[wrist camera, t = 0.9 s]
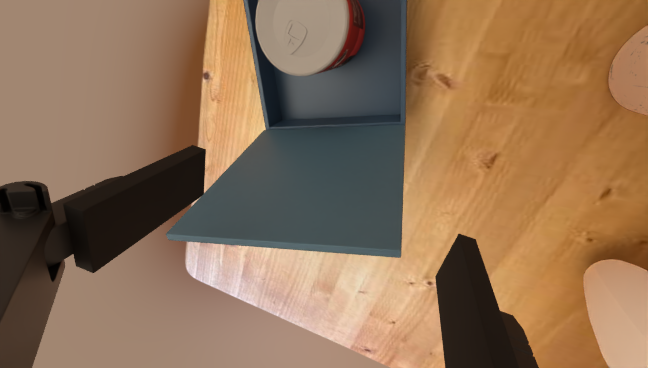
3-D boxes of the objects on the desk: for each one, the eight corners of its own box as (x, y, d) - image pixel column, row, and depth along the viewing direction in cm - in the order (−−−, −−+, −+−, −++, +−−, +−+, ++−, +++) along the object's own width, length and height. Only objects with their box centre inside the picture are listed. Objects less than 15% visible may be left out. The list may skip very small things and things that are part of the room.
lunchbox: (256, -31, 33) (236, -41, 29) (407, -61, 29) (407, -78, 25) (280, 123, 40) (266, 131, 36) (405, 117, 35) (405, 126, 31)
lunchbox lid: (164, 234, 21) (168, 240, 21) (400, 250, 17) (401, 258, 17) (264, 129, 35) (265, 134, 36) (405, 124, 31) (405, 129, 31)
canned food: (293, 60, 35) (249, 65, 26) (305, -19, 32) (259, -48, 22) (355, 76, 34) (334, 87, 25) (375, -4, 31) (359, -28, 21)
